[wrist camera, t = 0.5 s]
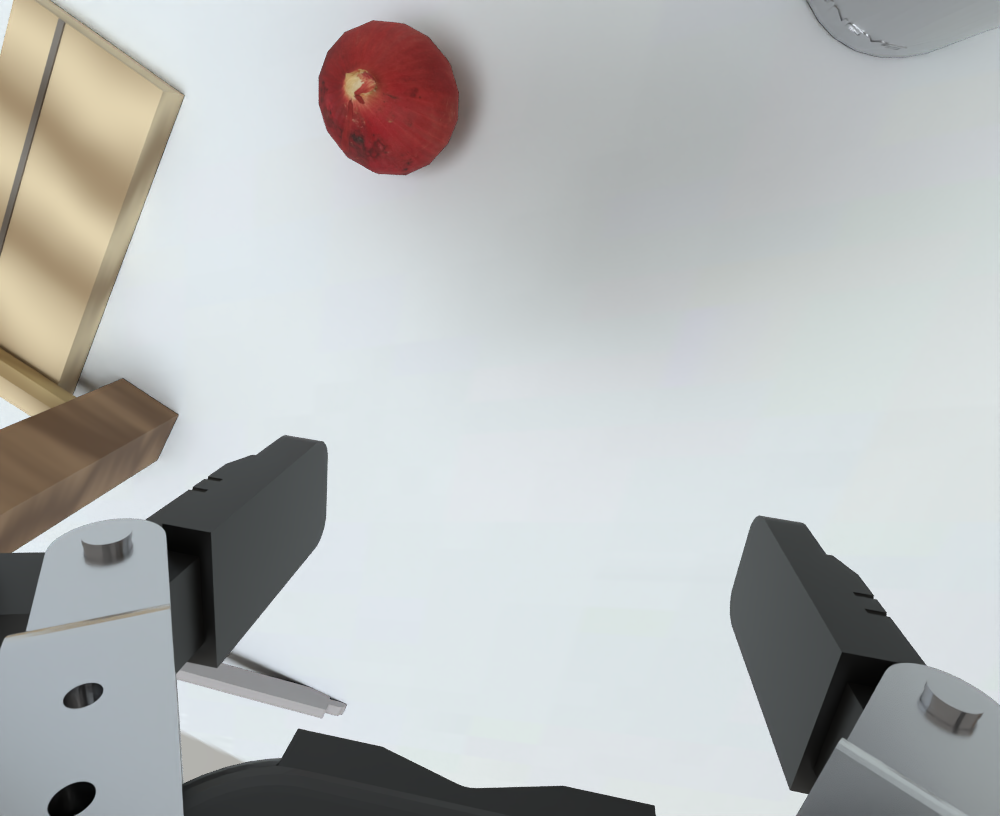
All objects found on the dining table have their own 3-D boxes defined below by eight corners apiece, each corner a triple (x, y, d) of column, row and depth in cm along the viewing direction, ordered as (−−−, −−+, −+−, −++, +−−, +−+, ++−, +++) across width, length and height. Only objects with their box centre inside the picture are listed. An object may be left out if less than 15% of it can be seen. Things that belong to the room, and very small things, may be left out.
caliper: (96, 594, 44) (21, 657, 39) (98, 584, 44) (22, 645, 38) (344, 710, 45) (306, 789, 39) (348, 701, 44) (310, 779, 38)
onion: (442, 196, 30) (392, 202, 23) (341, 141, 30) (256, 128, 23) (493, 78, 28) (455, 42, 20) (384, 18, 28) (305, -41, 20)
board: (45, -3, 30) (14, -13, 28) (184, 95, 30) (161, 90, 29) (-46, 344, 38) (-74, 351, 36) (65, 415, 39) (42, 425, 37)
